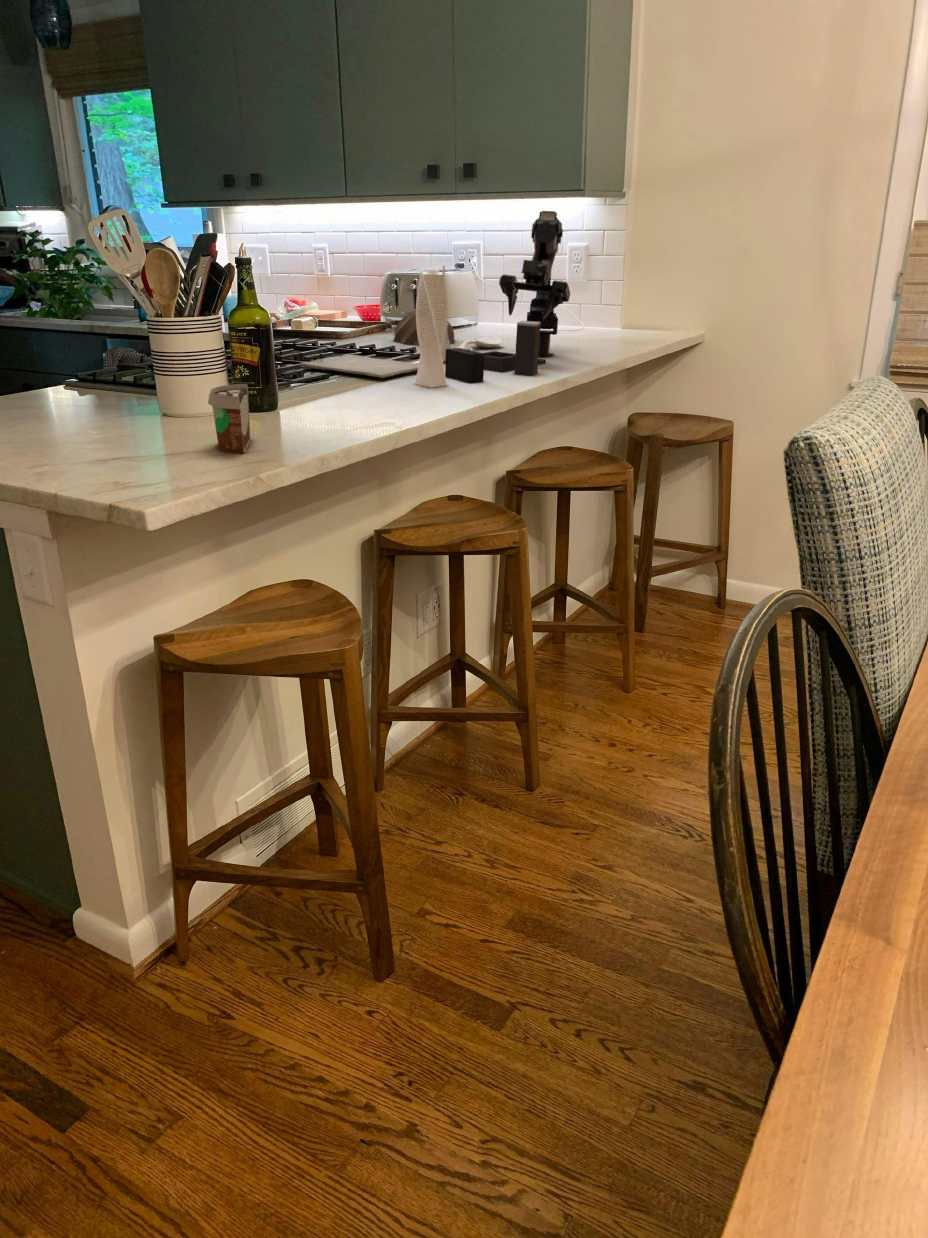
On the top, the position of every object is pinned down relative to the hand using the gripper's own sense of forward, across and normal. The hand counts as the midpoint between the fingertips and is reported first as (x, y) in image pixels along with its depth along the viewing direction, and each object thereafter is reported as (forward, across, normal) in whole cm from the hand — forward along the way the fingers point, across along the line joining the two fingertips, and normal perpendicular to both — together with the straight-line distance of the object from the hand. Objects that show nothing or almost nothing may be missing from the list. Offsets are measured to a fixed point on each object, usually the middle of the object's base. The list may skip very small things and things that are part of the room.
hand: (526, 316), depth 247 cm
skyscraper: (+32, -11, -21) cm, 40 cm away
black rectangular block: (+25, -7, -11) cm, 28 cm away
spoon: (0, -23, +26) cm, 34 cm away
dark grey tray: (+9, -7, +11) cm, 16 cm away
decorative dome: (-6, -44, +36) cm, 56 cm away
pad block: (+15, +4, +2) cm, 16 cm away
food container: (+74, -18, -81) cm, 111 cm away
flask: (+12, -24, +9) cm, 28 cm away
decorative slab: (+27, -34, -12) cm, 45 cm away
